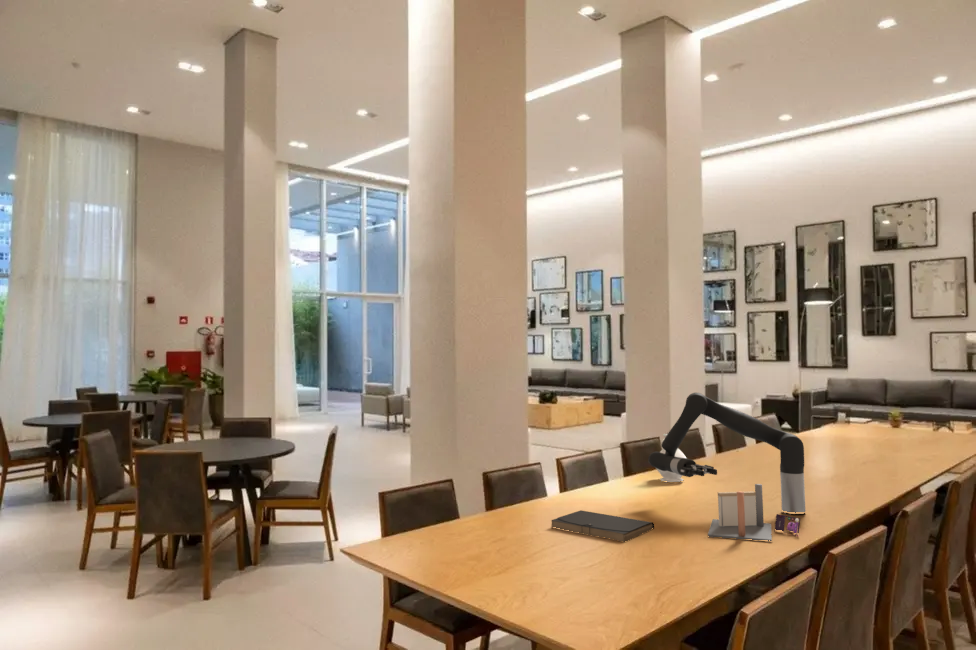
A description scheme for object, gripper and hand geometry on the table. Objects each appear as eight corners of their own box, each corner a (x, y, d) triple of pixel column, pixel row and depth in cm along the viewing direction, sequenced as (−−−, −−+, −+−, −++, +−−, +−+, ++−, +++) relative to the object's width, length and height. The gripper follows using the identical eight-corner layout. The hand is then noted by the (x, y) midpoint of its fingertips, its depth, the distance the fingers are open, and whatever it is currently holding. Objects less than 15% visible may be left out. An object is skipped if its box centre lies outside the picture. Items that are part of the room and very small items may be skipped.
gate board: (712, 521, 265) (711, 479, 266) (771, 526, 256) (769, 482, 257) (707, 536, 243) (706, 491, 244) (771, 542, 234) (769, 495, 235)
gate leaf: (754, 524, 254) (753, 491, 255) (756, 525, 252) (755, 492, 253) (718, 525, 254) (717, 492, 254) (720, 526, 252) (719, 493, 252)
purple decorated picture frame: (775, 513, 249) (799, 517, 243) (781, 516, 253) (805, 520, 246) (773, 531, 248) (796, 536, 241) (779, 533, 251) (803, 538, 244)
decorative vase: (692, 479, 354) (691, 433, 356) (683, 485, 339) (682, 437, 341) (660, 476, 364) (659, 431, 365) (650, 482, 349) (649, 435, 350)
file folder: (550, 519, 259) (583, 508, 278) (550, 529, 259) (583, 518, 277) (623, 532, 238) (654, 520, 256) (624, 544, 238) (654, 531, 256)
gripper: (669, 459, 277) (695, 465, 262) (696, 456, 283) (723, 462, 267) (670, 476, 277) (696, 483, 261) (697, 474, 282) (724, 480, 267)
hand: (709, 472), depth 264 cm, fingers open, 6 cm apart
